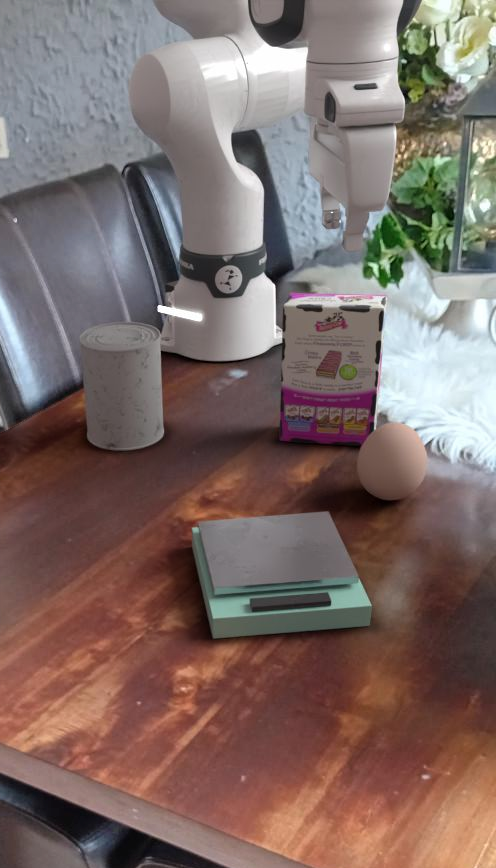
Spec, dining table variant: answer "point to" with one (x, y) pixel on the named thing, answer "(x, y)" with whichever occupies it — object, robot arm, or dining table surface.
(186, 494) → the dining table surface
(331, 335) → the candy bar box
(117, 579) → the dining table surface
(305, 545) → the scale pan
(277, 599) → the scale
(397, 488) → the egg
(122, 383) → the tin can
